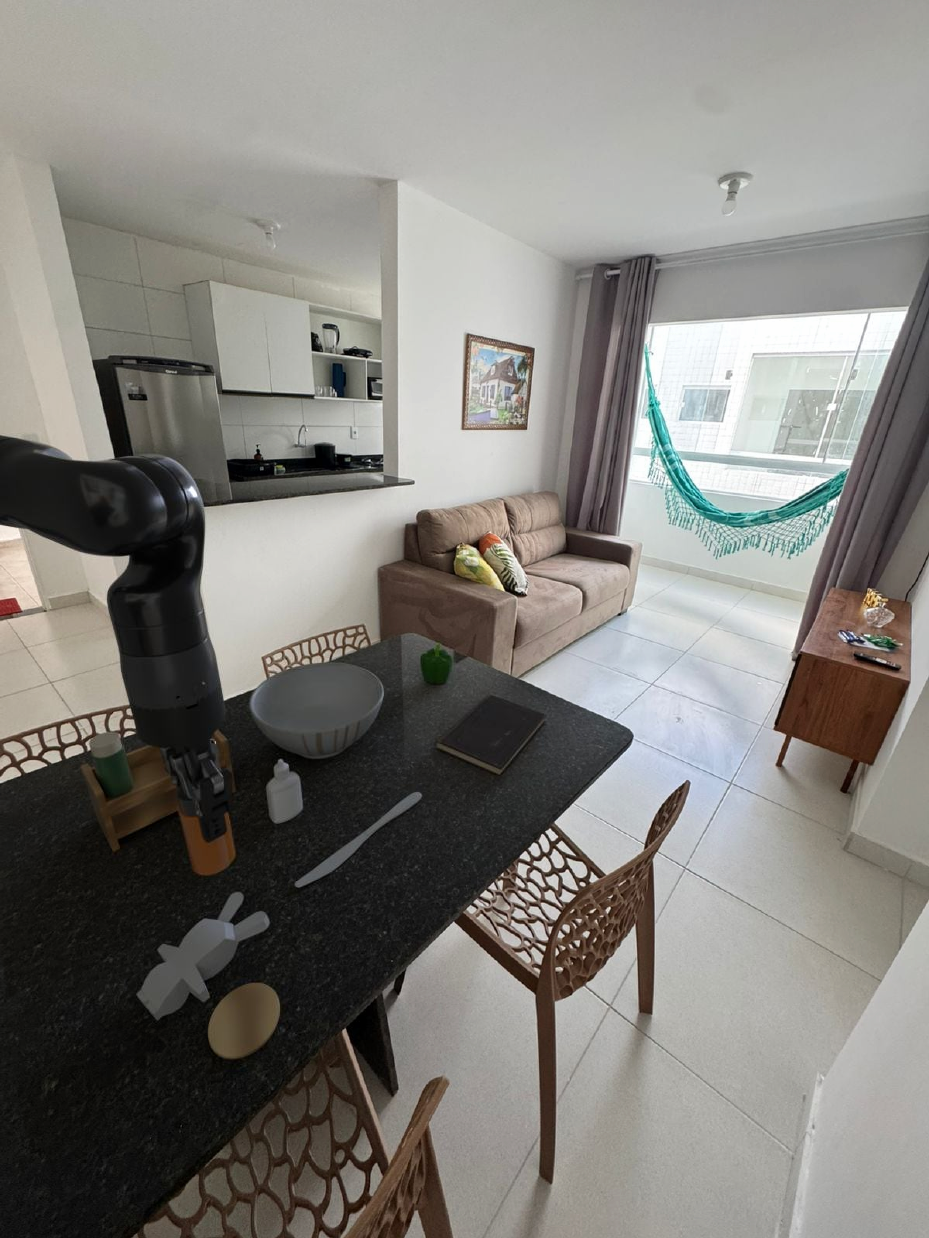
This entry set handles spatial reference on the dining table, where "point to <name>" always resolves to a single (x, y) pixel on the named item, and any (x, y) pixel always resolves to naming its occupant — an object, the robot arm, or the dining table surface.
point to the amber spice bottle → (201, 853)
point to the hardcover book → (492, 734)
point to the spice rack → (142, 792)
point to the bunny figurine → (197, 959)
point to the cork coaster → (244, 1021)
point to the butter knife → (356, 842)
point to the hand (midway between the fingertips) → (205, 822)
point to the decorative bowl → (317, 707)
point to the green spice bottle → (111, 764)
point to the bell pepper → (436, 665)
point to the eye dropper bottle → (284, 794)
